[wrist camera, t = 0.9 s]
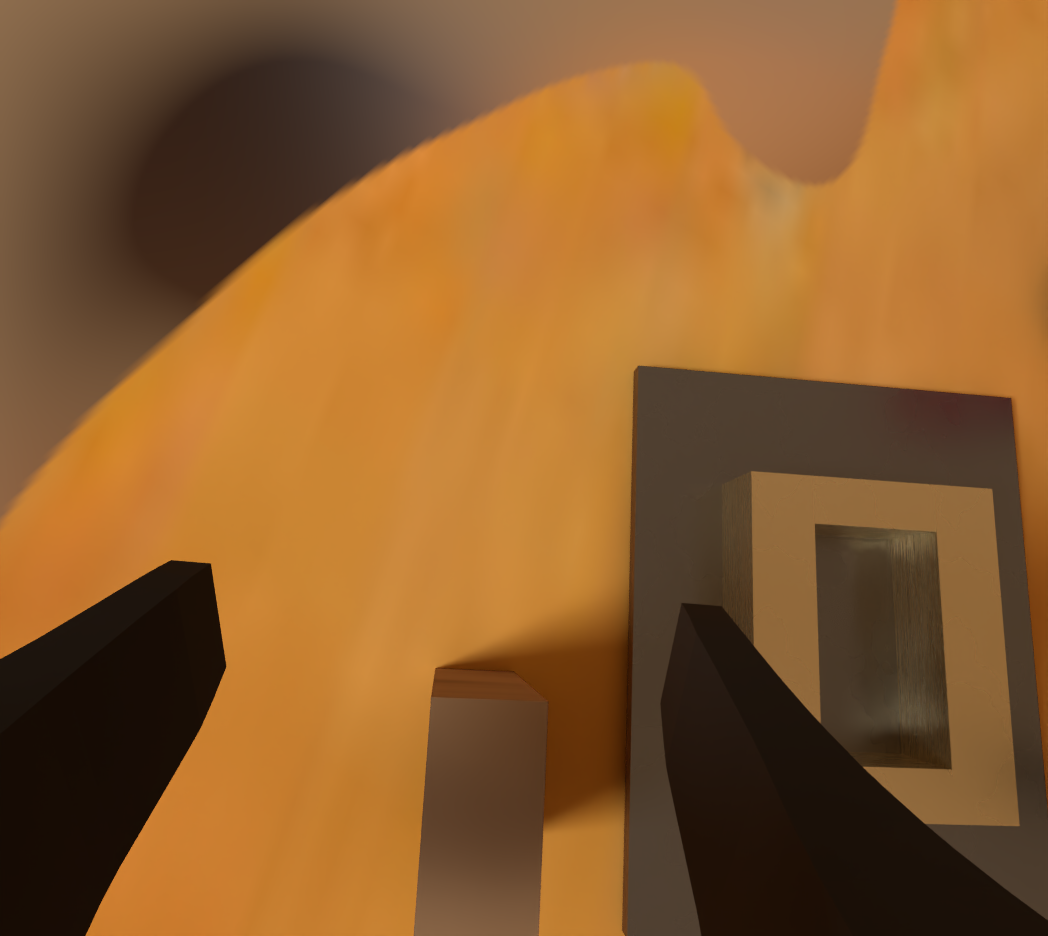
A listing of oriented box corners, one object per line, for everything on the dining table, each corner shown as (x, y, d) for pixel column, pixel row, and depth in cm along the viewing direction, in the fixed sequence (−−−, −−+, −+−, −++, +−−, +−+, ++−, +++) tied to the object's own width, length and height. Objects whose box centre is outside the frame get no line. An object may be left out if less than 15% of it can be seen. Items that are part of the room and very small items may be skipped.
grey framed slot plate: (1043, 934, 23) (1129, 980, 21) (622, 930, 22) (649, 979, 19) (998, 402, 27) (1065, 377, 24) (634, 371, 26) (658, 340, 23)
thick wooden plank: (504, 839, 22) (537, 961, 14) (423, 837, 22) (411, 961, 14) (513, 671, 23) (548, 701, 15) (435, 668, 23) (431, 696, 15)
